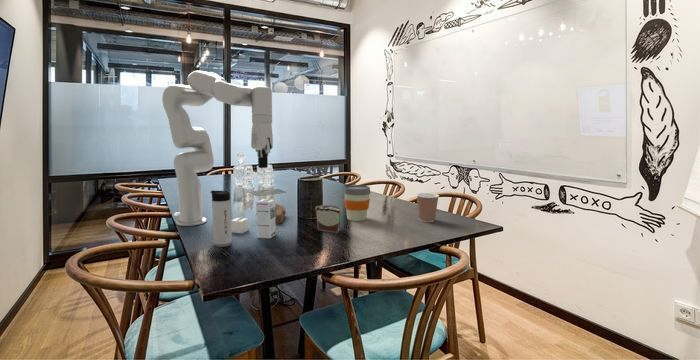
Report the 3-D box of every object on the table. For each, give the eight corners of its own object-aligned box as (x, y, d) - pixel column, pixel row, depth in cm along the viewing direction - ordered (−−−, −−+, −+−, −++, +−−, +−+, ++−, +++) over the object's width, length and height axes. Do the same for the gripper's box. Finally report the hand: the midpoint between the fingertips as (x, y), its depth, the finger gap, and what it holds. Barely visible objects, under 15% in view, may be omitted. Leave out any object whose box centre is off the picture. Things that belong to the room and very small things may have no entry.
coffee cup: (441, 219, 179) (442, 194, 177) (433, 224, 170) (434, 197, 168) (420, 216, 184) (421, 192, 182) (412, 220, 176) (412, 195, 174)
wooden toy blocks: (255, 231, 168) (260, 216, 185) (285, 227, 169) (287, 212, 186) (252, 215, 166) (257, 201, 183) (283, 211, 167) (285, 198, 184)
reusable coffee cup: (370, 221, 173) (371, 189, 171) (343, 221, 173) (343, 189, 171) (369, 215, 186) (369, 185, 184) (343, 215, 186) (344, 184, 184)
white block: (231, 232, 155) (230, 220, 154) (238, 229, 160) (237, 217, 159) (242, 233, 154) (241, 221, 153) (248, 230, 159) (248, 218, 158)
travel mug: (215, 242, 142) (213, 189, 139) (233, 241, 143) (231, 189, 140) (210, 247, 136) (208, 192, 133) (229, 247, 136) (227, 192, 133)
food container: (347, 229, 160) (347, 206, 159) (341, 233, 155) (341, 209, 153) (322, 226, 166) (321, 203, 164) (314, 229, 160) (314, 206, 159)
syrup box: (270, 238, 147) (270, 201, 145) (256, 237, 148) (255, 201, 146) (276, 234, 152) (275, 199, 150) (262, 233, 153) (261, 198, 151)
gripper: (244, 119, 148) (246, 166, 151) (261, 119, 136) (262, 170, 139) (262, 119, 153) (263, 165, 155) (280, 120, 141) (280, 169, 144)
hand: (263, 167), depth 147 cm, fingers closed
